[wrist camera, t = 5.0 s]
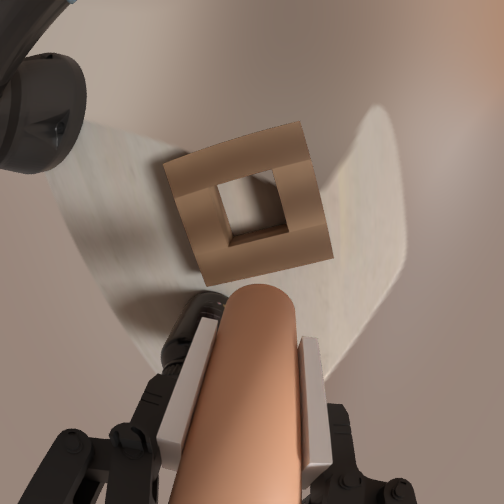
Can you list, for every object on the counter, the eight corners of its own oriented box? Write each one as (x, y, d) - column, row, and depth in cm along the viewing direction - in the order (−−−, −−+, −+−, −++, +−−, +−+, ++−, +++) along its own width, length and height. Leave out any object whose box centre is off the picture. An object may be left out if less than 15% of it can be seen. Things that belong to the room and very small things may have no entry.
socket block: (174, 161, 26) (162, 163, 23) (297, 123, 24) (299, 120, 21) (213, 273, 30) (206, 286, 27) (329, 246, 28) (333, 258, 25)
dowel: (220, 333, 17) (157, 569, 4) (230, 277, 15) (141, 569, 3) (285, 346, 17) (277, 585, 4) (303, 291, 15) (321, 587, 3)
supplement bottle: (226, 348, 34) (204, 428, 22) (176, 320, 33) (136, 393, 22) (256, 310, 31) (241, 393, 20) (201, 278, 30) (160, 350, 19)
